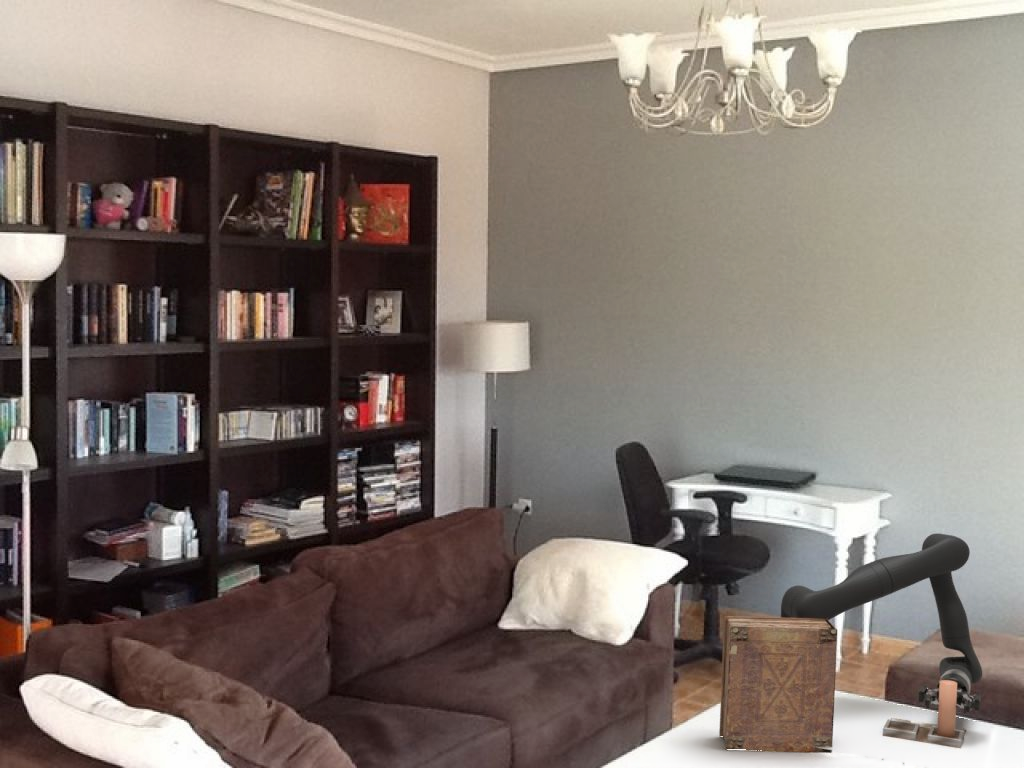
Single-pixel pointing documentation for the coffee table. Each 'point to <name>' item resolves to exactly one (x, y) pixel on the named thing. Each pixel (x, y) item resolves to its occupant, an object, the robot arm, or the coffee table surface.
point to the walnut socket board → (921, 732)
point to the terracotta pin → (947, 708)
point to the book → (778, 684)
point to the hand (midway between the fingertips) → (946, 706)
